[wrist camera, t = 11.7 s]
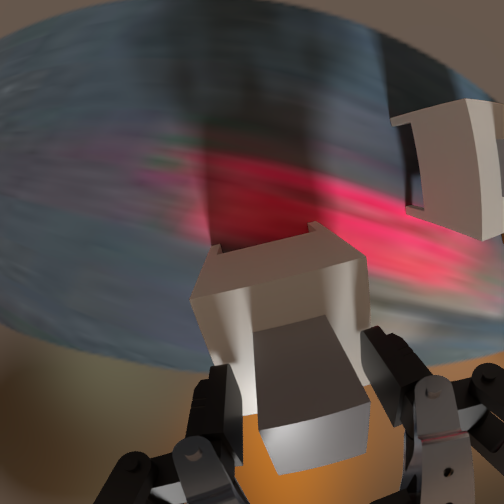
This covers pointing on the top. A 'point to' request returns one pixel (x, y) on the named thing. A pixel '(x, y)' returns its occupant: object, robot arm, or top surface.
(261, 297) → the cover
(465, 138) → the cover
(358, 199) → the top surface
